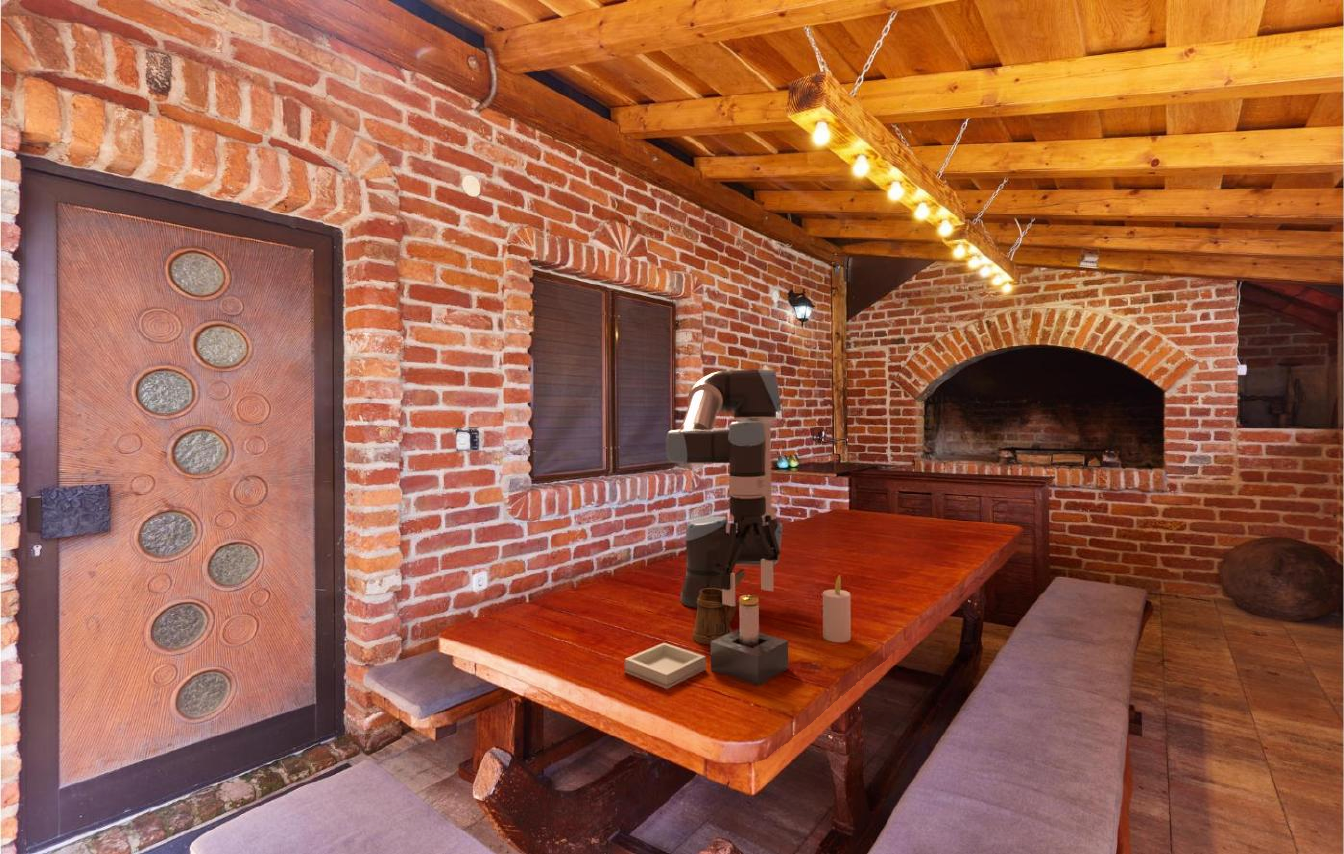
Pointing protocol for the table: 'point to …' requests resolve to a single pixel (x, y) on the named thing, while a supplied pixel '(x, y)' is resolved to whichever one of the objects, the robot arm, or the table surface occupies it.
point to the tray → (665, 665)
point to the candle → (836, 614)
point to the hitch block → (749, 658)
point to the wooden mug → (713, 614)
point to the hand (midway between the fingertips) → (748, 597)
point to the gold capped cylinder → (749, 620)
